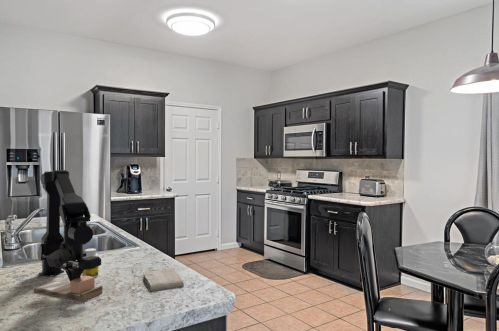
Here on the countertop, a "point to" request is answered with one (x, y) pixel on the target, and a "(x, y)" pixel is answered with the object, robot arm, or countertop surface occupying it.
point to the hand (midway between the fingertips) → (73, 286)
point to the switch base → (67, 291)
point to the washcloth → (162, 279)
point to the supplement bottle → (93, 271)
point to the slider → (81, 284)
